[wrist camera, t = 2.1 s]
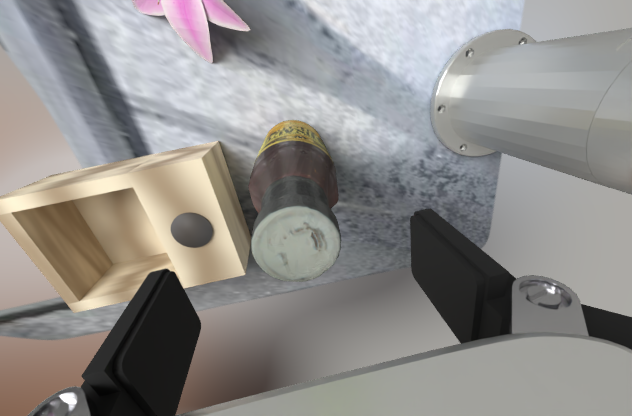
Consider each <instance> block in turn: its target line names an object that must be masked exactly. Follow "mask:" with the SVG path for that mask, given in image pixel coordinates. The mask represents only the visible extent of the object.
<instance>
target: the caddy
mask: <svg viewBox="0 0 632 416" xmlns="http://www.w3.org/2000/svg"><path fill="white" fill-rule="evenodd" d="M0 221H1V223H2V224H3V225H4V226H5V228H6V229H7V230H8V231H9V233H10V234H11V235H12V236H13V237H14V239H15V240H16V241H17V243H18V244H19V245H20V246H21V247H22V249H23V250H24V251H25V252H26V254H27V255H28V256H29V257H30V259H31V260H32V261H33V262H34V264H35V265H36V266H37V267H38V269H39V270H40V271H41V272H42V274H43V275H44V276H45V277H46V279H47V280H48V281H49V282H50V283H51V285H52V286H53V287H54V289H55V290H56V291H57V292H58V294H59V295H60V296H61V297H62V299H63V300H64V301H65V302H66V304H67V305H68V306H69V307H70V308H71V310H72V311H73V312H74V313H76V312H80V311H85V310H89V309H94V308H98V307H103V306H107V305H112V304H116V303H121V302H125V301H130V300H132V298H133V297H134V295H135V294H136V292H137V291H138V289H139V288H140V286H141V284H142V283H143V281H144V280H145V278H146V277H147V275H148V274H149V273H150V272H153V271H157V270H162V269H169V270H170V271H174V272H175V273H176V275H177V277H178V279H179V281H180V283H181V285H182V287H183V289H184V288H188V287H193V286H197V285H202V284H206V283H211V282H215V281H220V280H224V279H229V278H233V277H238V276H242V275H245V274H246V268H247V262H248V257H249V251H250V245H251V235H250V232H249V229H248V226H247V224H246V221H245V218H244V215H243V212H242V209H241V206H240V203H239V200H238V197H237V194H236V191H235V188H234V185H233V182H232V179H231V176H230V173H229V170H228V167H227V164H226V161H225V158H224V155H223V152H222V149H221V146H220V143H219V141H216V142H211V143H206V144H201V145H196V146H192V147H187V148H182V149H177V150H172V151H167V152H162V153H157V154H152V155H148V156H143V157H138V158H133V159H128V160H123V161H118V162H113V163H109V164H104V165H99V166H94V167H89V168H84V169H79V170H75V171H69V172H65V173H60V174H55V175H51V176H49V177H46V178H44V179H41V180H39V181H37V182H34V183H32V184H29V185H27V186H24V187H22V188H20V189H17V190H15V191H12V192H10V193H8V194H6V195H3V196H1V197H0Z"/></svg>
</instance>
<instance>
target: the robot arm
mask: <svg viewBox="0 0 632 416" xmlns="http://www.w3.org/2000/svg"><path fill="white" fill-rule="evenodd" d="M438 107H439V109H438ZM430 115H431V123H432V126H433V129H434V132H435V134H436V136H437V137H438V139H439V141H440V142H441V143H442V144H443V145H444V146H445V147H447V148H448V149H450V150H452V151H453V152H456V153H458V154H461V155H465V156H483V155H488V154H491V153H494V152H496V151H498V152H501V153H504V154H508V155H510V156H514V157H517V158H520V159H523V160H526V161H529V162H532V163H535V164H538V165H541V166H544V167H547V168H551V169H554V170H557V171H560V172H563V173H566V174H569V175H572V176H575V177H578V178H582V179H584V180H588V181H591V182H594V183H597V184H600V185H603V186H606V187H609V188H613V189H616V190H620V191H622V192H626V193H629V194H632V28H628V29H622V30H615V31H608V32H602V33H595V34H588V35H581V36H574V37H568V38H561V39H555V40H548V41H541V42H536V41H535V40H534V39H533V38H532V37H530V36H529V35H527V34H525V33H523V32H521V31H518V30H512V29H503V30H495V31H491V32H487V33H484V34H482V35H480V36H477V37H475V38H473V39H472V40H470V41H469V42H467V43H466V44H464V45H463V46H462V47H461V48H460V49H459V50H457V51H456V52H455V53H454V54H453V55H452V57H451V58H450V59H449V61H448V62H447V63H446V64H445V66H444V68H443V69H442V71H441V73H440V75H439V76H438V79H437V81H436V84H435V86H434V89H433V93H432V98H431V107H430ZM410 226H411V267H412V273H413V276H414V278H415V280H416V281H417V282H418V284H419V285H420V287H421V288H422V290H423V291H424V292H425V294H426V295H427V297H428V298H429V299H430V301H431V302H432V303H433V305H434V306H435V308H436V309H437V311H438V312H439V313H440V315H441V316H442V318H443V319H444V320H445V322H446V323H447V325H448V326H449V327H450V329H451V330H452V332H453V333H454V334H455V336H456V337H457V338H458V340H459V341H460V343H461V344H458V345H453V346H449V347H444V348H440V349H436V350H431V351H427V352H424V353H419V354H415V355H412V356H407V357H403V358H399V359H395V360H391V361H387V362H383V363H379V364H375V365H371V366H367V367H363V368H359V369H355V370H351V371H347V372H343V373H340V374H335V375H331V376H327V377H323V378H320V379H316V380H312V381H307V382H304V383H300V384H296V385H292V386H288V387H284V388H280V389H276V390H272V391H269V392H264V393H261V394H257V395H253V396H249V397H245V398H241V399H237V400H233V401H230V402H226V403H222V404H218V405H214V406H210V407H207V408H203V409H199V410H195V411H191V412H188V413H184V414H180V415H176V416H632V317H628V316H624V315H621V314H617V313H613V312H609V311H606V310H602V309H598V308H594V307H590V306H586V305H583V304H581V303H580V300H579V298H578V296H577V294H575V293H574V292H573V291H572V290H571V289H570V288H569V287H567V286H566V285H564V284H562V283H560V282H558V281H556V280H553V279H550V278H546V277H543V276H534V275H531V276H523V277H520V278H517V279H516V278H515V277H514V276H512V275H511V274H510V273H509V272H508V271H507V270H506V269H504V268H503V267H502V266H501V265H500V264H498V263H497V262H496V261H495V260H493V259H492V258H491V257H490V256H488V255H487V254H486V253H485V252H483V251H482V250H481V249H480V248H479V247H477V246H476V245H475V244H474V243H472V242H471V241H470V240H469V239H468V238H466V237H465V236H464V235H463V234H461V233H460V232H459V231H458V230H456V229H455V228H454V227H453V226H452V225H450V224H449V223H448V222H447V221H445V220H444V219H443V218H442V217H441V216H439V215H438V214H437V213H436V212H434V211H433V210H432V209H425V210H421V211H416V212H415V213H414V216H411V218H410ZM200 330H201V322H200V320H199V317H198V315H197V313H196V312H195V310H194V308H193V306H192V304H191V302H190V300H189V298H188V296H187V294H186V292H185V290H184V289H183V287H182V285H181V283H180V281H179V279H178V277H177V275H176V273H175V272H174V271H170V270H169V269H162V270H157V271H153V272H150V273H149V274H148V275H147V277H146V278H145V280H144V281H143V283H142V284H141V286H140V288H139V289H138V291H137V292H136V294H135V295H134V297H133V298H132V300H131V301H130V303H129V304H128V306H127V307H126V309H125V310H124V312H123V313H122V315H121V317H120V318H119V320H118V321H117V323H116V324H115V326H114V327H113V329H112V330H111V332H110V333H109V335H108V336H107V338H106V339H105V341H104V343H103V344H102V345H101V347H100V349H99V350H98V352H97V353H96V355H95V356H94V358H93V359H92V361H91V363H90V364H89V365H88V367H87V369H86V370H85V372H84V373H83V374H82V377H83V379H84V380H85V381H84V383H83V384H82V386H81V388H80V387H69V388H66V389H63V390H61V391H59V392H57V393H55V394H54V395H52V396H50V397H49V398H47V399H46V400H45V401H43V402H42V403H41V404H40V405H38V406H37V407H36V408H35V409H34V410H33V411H32V412H31V413H30V414H29V415H28V416H175V414H176V411H177V408H178V404H179V401H180V397H181V394H182V390H183V387H184V384H185V380H186V377H187V374H188V371H189V367H190V364H191V360H192V357H193V354H194V350H195V347H196V344H197V340H198V337H199V334H200Z"/></svg>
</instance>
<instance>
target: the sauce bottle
mask: <svg viewBox="0 0 632 416" xmlns="http://www.w3.org/2000/svg"><path fill="white" fill-rule="evenodd" d="M248 188H249V192H250V195H251V199H252V202H253V204H254V207H255V209H256V210H257V212H258V213H259V214H258V216H257V218H256V220H255V223H254V227H253V231H252V238H251V250H252V254H253V256H254V259H255V261H256V262H257V264H258V265H259V266H260V267H261V269H262V270H263V271H264V272H266V273H267V274H269V275H270V276H272V277H274V278H277V279H279V280H282V281H296V282H303V281H308V280H311V279H314V278H317V277H319V276H320V275H321V274H322V273H323V272H325V271H327V270H328V269H329V268H330V267H331V266H333V264H334V263H335V261H336V259H337V258H338V256H339V252H340V249H341V235H340V230H339V225H338V221H337V219H336V217H335V215H334V214H333V212H332V210H331V208H332V207H333V206H334V205H335V204H336V203H337V202H338V188H337V179H336V171H335V166H334V163H333V161H332V159H331V157H330V155H329V153H328V151H327V149H326V147H325V145H324V143H323V141H322V140H321V138H320V136H319V134H318V133H317V131H316V130H315V129H314V128H312V127H311V126H310V125H308V124H306V123H304V122H301V121H297V120H288V121H283V122H281V123H279V124H277V125H276V126H274V127H273V128H272V129H271V130H270V131H269V132H268V134H267V136H266V138H265V140H264V143H263V145H262V147H261V149H260V151H259V154H258V156H257V158H256V161H255V163H254V167H253V171H252V175H251V178H250V182H249V185H248Z"/></svg>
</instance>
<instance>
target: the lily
mask: <svg viewBox="0 0 632 416" xmlns="http://www.w3.org/2000/svg"><path fill="white" fill-rule="evenodd" d="M132 2H133V5H134V7H135V8H136V9H137V10H138V11H140V12H141V13H144V14H147V15H165V16H166V18H167V20H168V21H169V23H170V25H171V26H172V28H173V29H174V30H175V31H176V33H177V34H178V35H179V36H180V37H181V38H182V39H183V41H184V42H185V43H186V44H187V45H188V46H189V47H190V48H191V49H192V50H194V51H195V52H196V53H197V54H198V55H199V56H200V57H202V58H203V59H204V60H206V61H208V62H210V63H212V62H213V57H212V50H211V44H210V35H209V28H208V22H207V20H209V21H210V22H212V23H215V24H217V25H220V26H223V27H226V28H230V29H234V30H239V31H249V30H250V28H249V26H248V25H247V24H246V23H245V22H244V21H243V20H242V19H241V18H240V17H239V16H238V15H237V14H236V13H235V12H234V11H233V10H232V9H231V8H230V7H229V6H228V5H227V4H226V3H225V2H224V1H223V0H132Z"/></svg>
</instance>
